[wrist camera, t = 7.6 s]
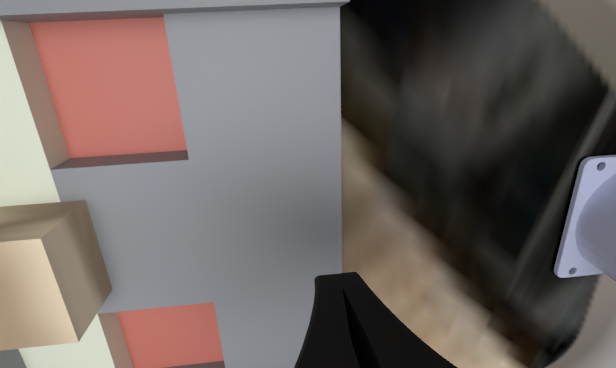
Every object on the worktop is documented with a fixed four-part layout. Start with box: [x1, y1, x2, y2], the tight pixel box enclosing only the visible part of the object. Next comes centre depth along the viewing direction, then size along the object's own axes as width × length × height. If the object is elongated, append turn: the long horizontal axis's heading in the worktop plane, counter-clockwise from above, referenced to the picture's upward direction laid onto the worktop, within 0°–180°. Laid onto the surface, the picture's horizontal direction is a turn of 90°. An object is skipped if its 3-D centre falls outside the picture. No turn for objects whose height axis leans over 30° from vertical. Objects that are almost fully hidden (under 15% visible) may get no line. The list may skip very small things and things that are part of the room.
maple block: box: [0, 200, 112, 351], centre depth 16 cm, size 5×5×4 cm
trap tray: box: [0, 0, 350, 368], centre depth 17 cm, size 18×22×5 cm
